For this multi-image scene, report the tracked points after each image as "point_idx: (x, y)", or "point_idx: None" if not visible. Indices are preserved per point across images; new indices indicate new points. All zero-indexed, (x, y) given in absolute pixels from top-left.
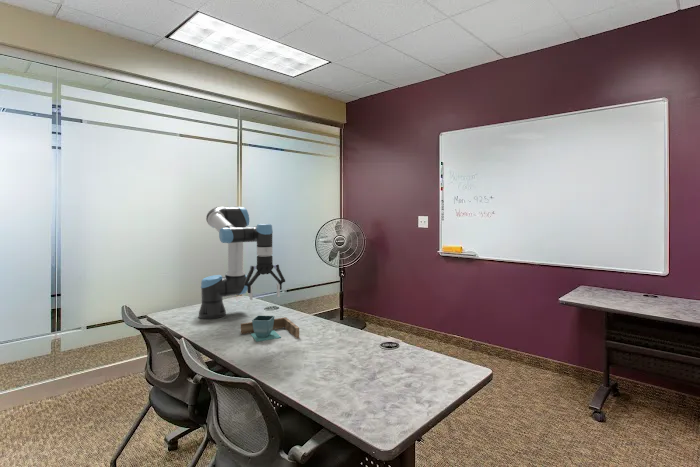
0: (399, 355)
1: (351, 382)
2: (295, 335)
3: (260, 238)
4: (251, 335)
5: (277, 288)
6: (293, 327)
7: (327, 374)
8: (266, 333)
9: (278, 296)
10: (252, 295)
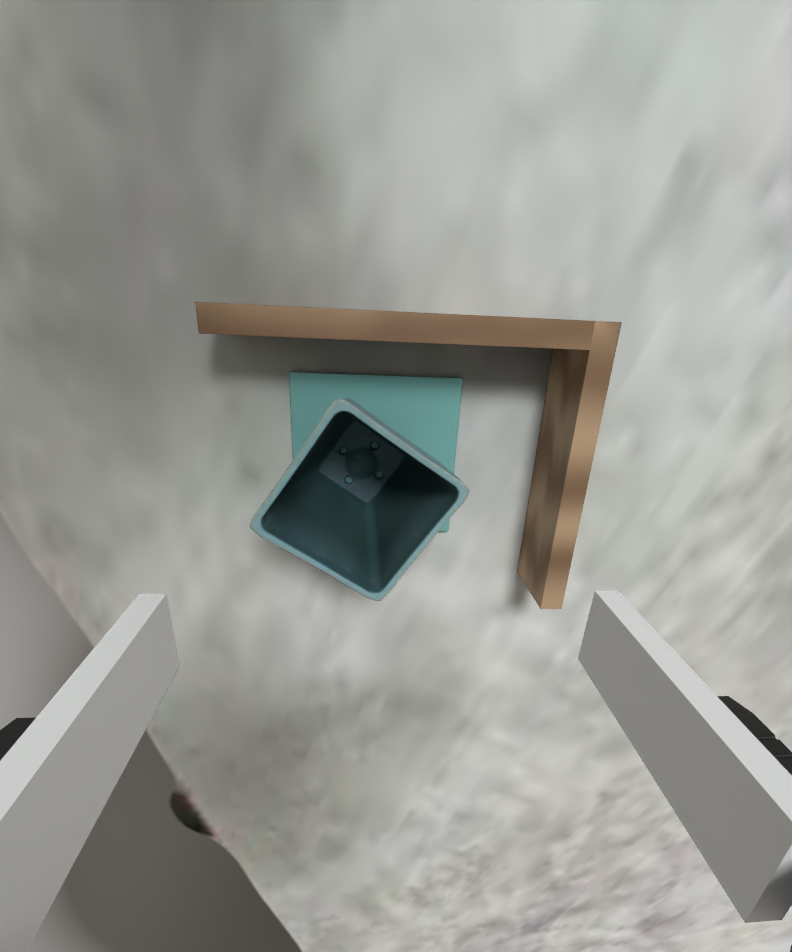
0: None
1: (471, 928)
2: (523, 567)
3: None
4: (291, 400)
5: (674, 744)
6: (544, 557)
7: (439, 883)
8: (362, 529)
9: (583, 666)
10: (142, 734)
